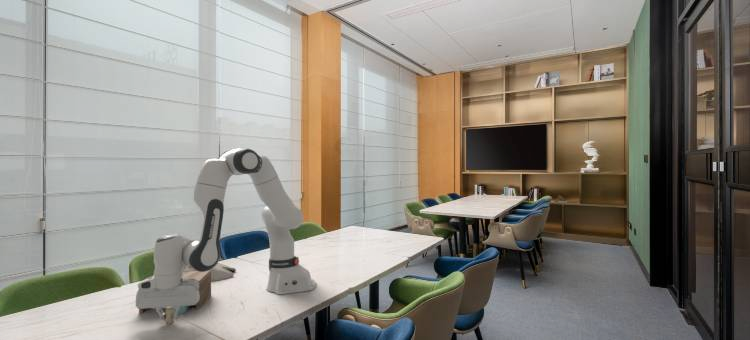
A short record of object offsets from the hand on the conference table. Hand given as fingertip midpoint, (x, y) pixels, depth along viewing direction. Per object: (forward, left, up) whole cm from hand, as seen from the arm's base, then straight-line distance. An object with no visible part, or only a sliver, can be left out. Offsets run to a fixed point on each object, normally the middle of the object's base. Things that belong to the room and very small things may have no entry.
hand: (168, 318), depth 119 cm
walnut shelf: (+5, -19, -2) cm, 20 cm away
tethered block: (+1, -7, -2) cm, 7 cm away
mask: (+6, -55, -3) cm, 55 cm away
